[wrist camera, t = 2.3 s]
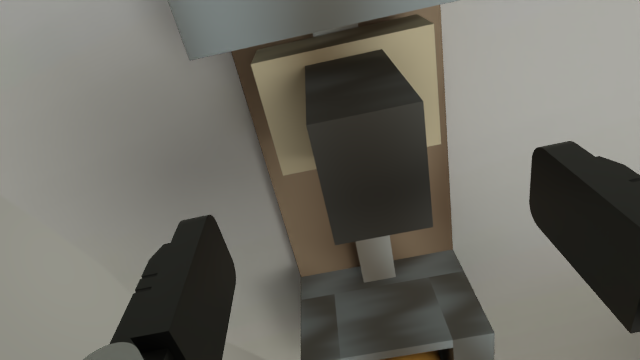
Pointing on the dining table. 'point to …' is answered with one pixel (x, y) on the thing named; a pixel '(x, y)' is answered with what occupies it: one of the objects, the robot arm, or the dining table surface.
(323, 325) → the stand
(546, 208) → the robot arm
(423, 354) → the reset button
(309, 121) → the carriage
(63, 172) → the dining table surface
